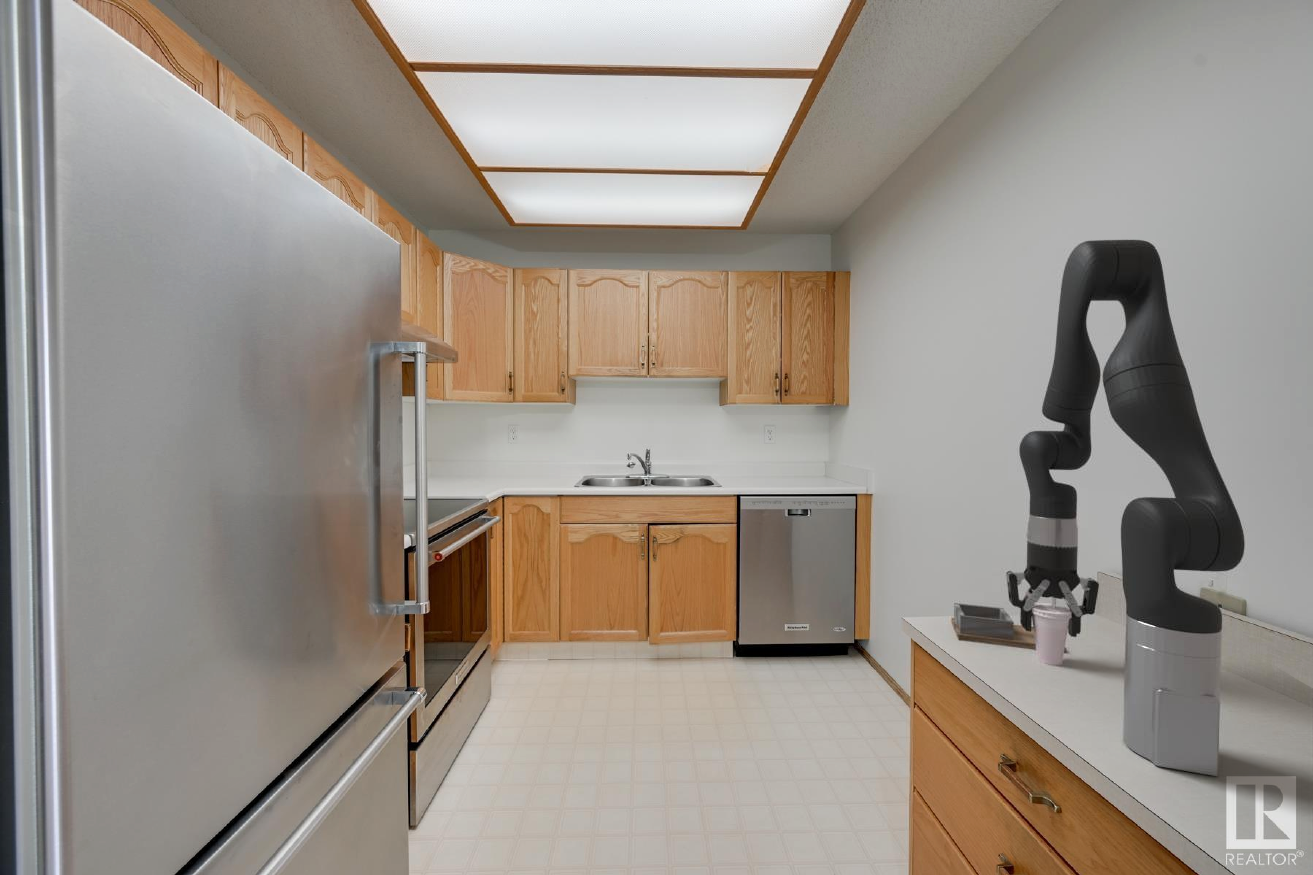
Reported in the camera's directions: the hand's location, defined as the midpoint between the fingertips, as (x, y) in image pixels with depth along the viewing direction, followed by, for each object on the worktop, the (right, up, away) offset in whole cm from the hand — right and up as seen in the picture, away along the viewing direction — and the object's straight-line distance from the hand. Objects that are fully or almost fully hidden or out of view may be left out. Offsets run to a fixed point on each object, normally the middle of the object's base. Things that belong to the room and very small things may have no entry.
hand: (1049, 632), depth 104 cm
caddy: (-1, -5, +12) cm, 13 cm away
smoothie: (0, -5, 0) cm, 5 cm away
